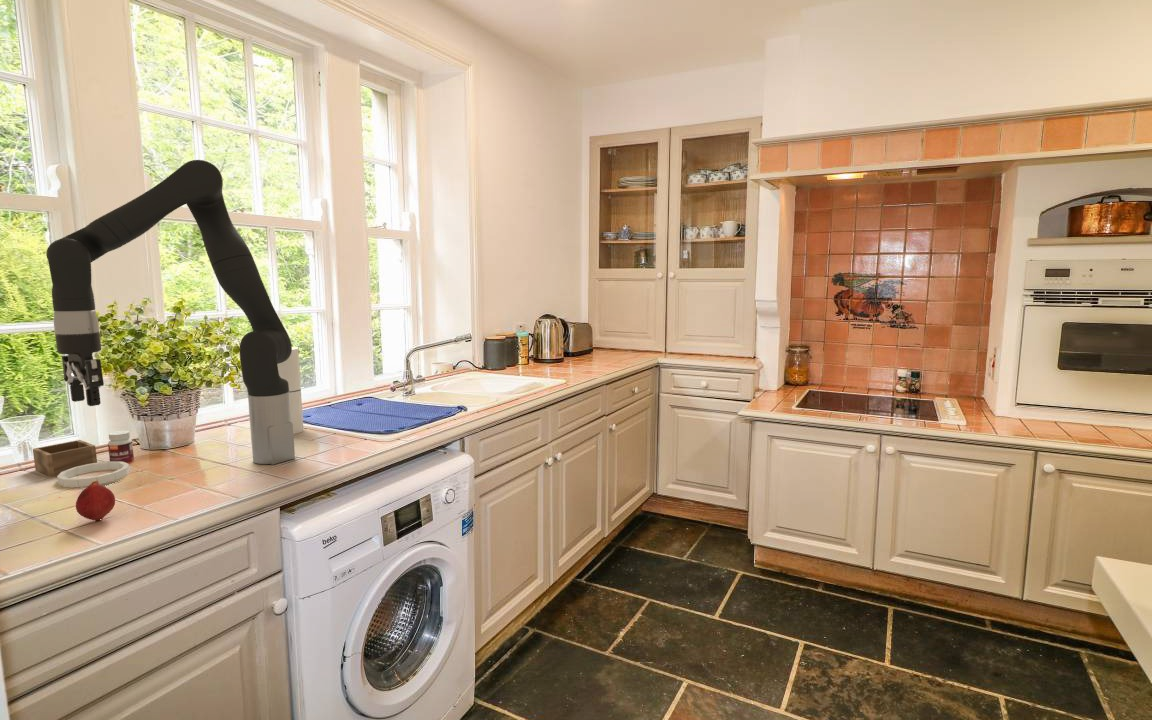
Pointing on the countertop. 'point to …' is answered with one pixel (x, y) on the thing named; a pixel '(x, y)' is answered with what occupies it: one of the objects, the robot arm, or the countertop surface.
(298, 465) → the countertop surface
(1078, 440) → the countertop surface
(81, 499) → the onion
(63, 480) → the white ring
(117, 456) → the pill bottle
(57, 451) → the walnut crate
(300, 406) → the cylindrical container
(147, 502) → the countertop surface
